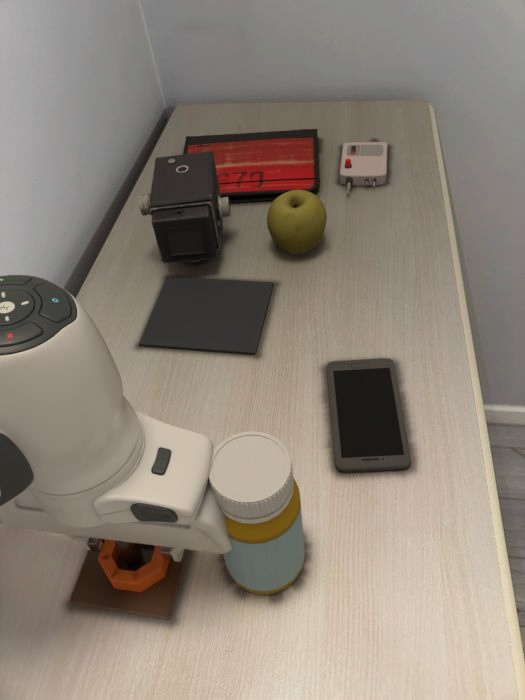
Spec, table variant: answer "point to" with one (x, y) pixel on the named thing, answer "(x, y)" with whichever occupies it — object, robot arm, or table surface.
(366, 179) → the electronic control box
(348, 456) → the cell phone
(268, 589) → the bottle
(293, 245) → the apple
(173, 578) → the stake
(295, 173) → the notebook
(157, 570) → the ring
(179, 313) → the mat
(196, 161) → the camera
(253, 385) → the table surface
